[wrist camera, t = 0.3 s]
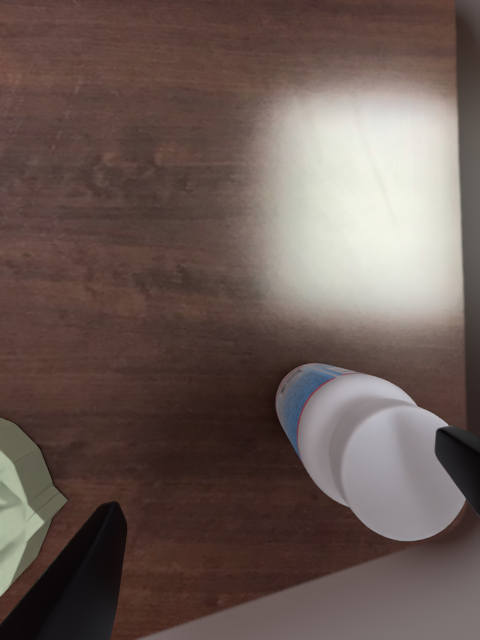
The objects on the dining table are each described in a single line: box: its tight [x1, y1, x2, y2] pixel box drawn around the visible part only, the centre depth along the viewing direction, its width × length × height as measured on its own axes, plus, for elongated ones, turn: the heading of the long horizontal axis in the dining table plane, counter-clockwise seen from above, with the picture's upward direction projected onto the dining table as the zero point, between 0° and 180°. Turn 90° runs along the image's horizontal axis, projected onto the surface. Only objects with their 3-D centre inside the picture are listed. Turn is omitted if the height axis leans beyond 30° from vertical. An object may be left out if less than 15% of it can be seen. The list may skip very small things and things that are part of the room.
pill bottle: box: [276, 363, 466, 541], centre depth 15 cm, size 6×6×11 cm
